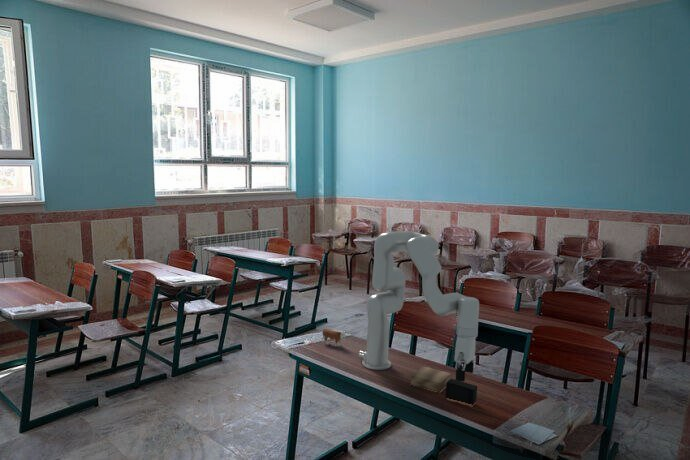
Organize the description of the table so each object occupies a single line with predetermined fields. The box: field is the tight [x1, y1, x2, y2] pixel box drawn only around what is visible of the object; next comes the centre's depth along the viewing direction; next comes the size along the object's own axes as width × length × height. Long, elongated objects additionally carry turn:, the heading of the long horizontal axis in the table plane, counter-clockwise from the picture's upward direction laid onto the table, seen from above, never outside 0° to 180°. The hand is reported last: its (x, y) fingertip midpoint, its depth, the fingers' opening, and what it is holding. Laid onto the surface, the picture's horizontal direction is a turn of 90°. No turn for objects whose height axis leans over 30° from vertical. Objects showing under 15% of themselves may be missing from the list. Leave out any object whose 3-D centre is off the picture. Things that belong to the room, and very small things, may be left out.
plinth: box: [409, 366, 452, 392], centre depth 196 cm, size 13×13×4 cm
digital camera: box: [445, 378, 478, 405], centre depth 182 cm, size 10×5×7 cm, turn 57°
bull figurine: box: [322, 328, 347, 348], centre depth 236 cm, size 4×13×8 cm, turn 57°
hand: (464, 376), depth 181 cm, fingers open, 9 cm apart
